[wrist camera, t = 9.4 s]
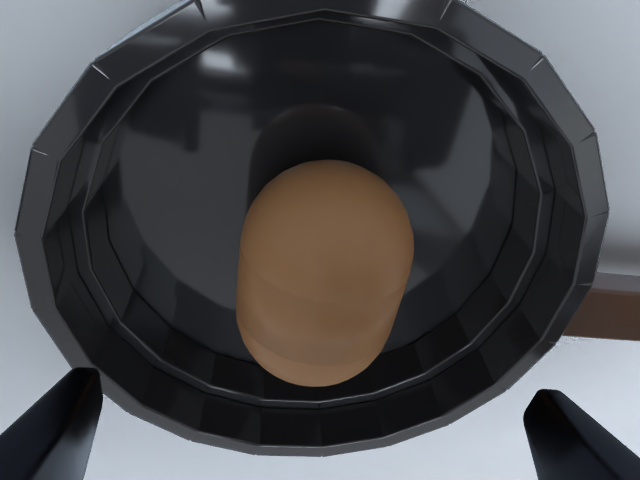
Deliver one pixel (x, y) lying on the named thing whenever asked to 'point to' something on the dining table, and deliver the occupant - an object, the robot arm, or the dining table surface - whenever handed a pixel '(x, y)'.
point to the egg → (322, 271)
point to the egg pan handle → (609, 309)
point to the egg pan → (282, 154)
